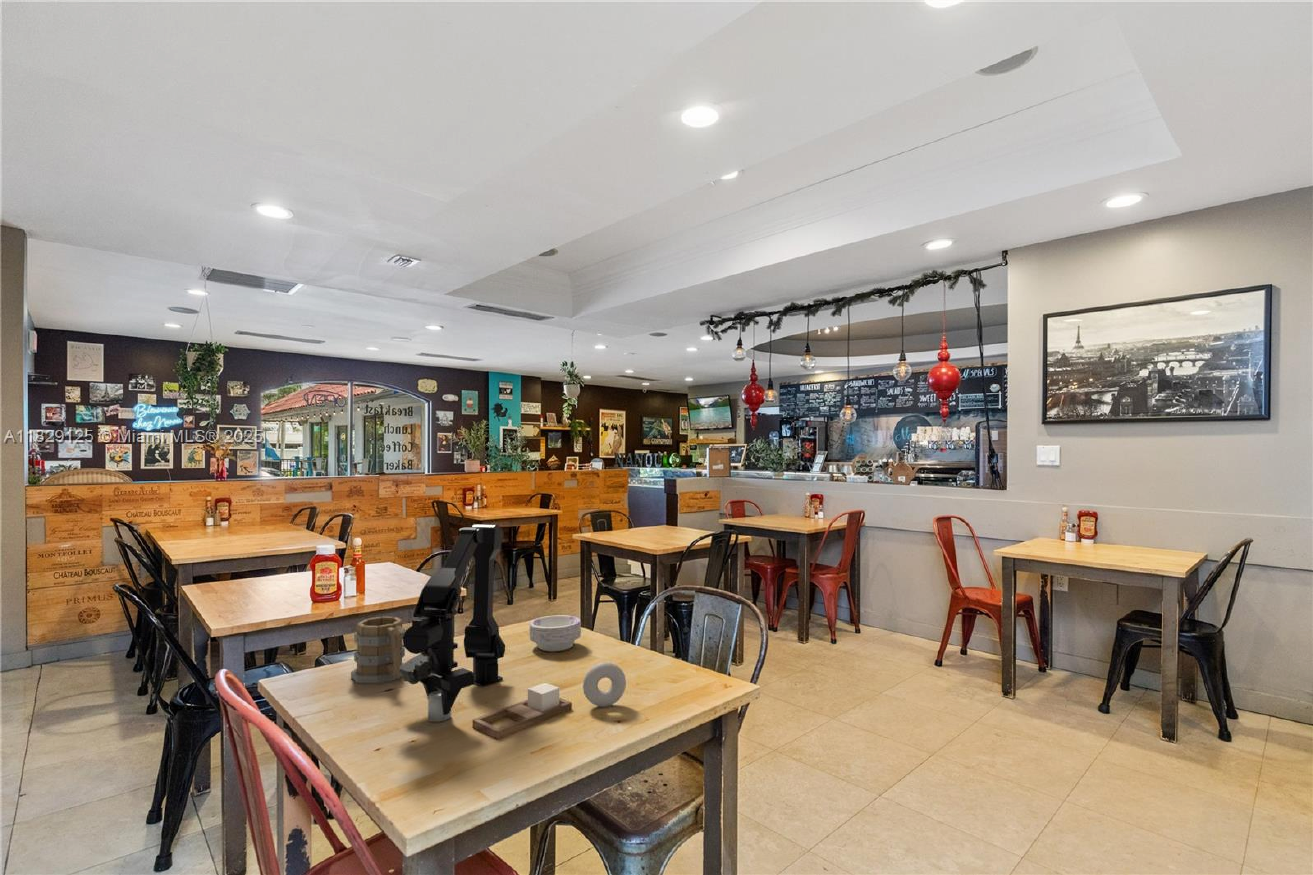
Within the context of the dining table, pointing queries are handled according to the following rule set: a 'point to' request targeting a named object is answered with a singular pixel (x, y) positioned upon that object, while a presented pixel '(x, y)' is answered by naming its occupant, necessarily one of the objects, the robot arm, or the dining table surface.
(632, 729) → the dining table surface
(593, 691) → the donut
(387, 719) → the dining table surface
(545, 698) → the white rounded cube
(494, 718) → the walnut caddy
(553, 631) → the paper bowls
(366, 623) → the tankard
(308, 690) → the dining table surface
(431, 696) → the salt cellar
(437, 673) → the robot arm
